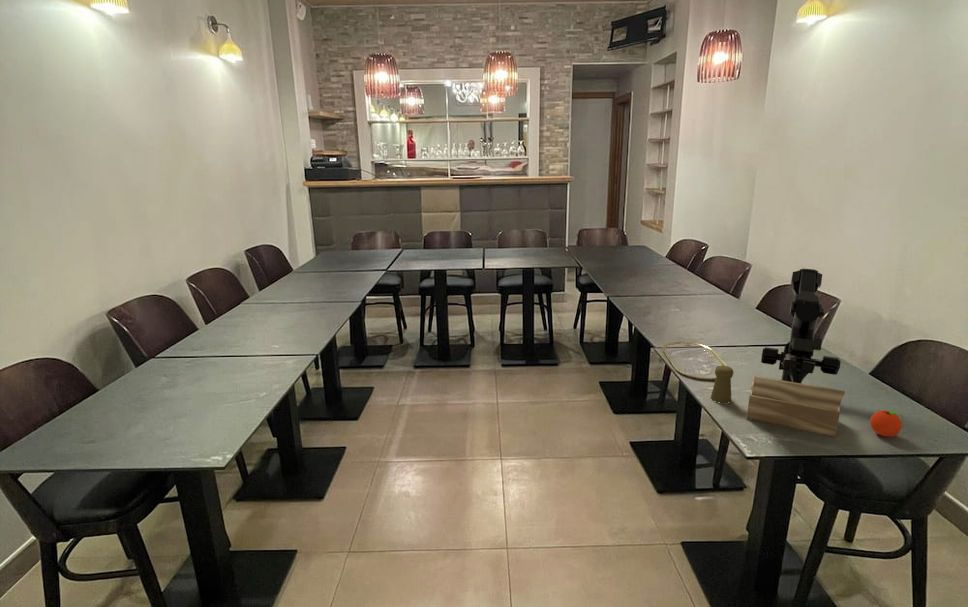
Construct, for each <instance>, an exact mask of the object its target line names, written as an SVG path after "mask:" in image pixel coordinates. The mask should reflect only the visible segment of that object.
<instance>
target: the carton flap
mask: <svg viewBox="0 0 968 607" xmlns="http://www.w3.org/2000/svg"><path fill="white" fill-rule="evenodd" d="M753 380H754V385H753V394H752V395H753V396H759V397H764V398H769V399H775V400H780V401H785V402H791V403H796V404H801V405H807V406H812V407H817V408H823V409H828V410H833V411H837V410H838V408H839V409H840V405H841V403H842V400H843V398H844V396H845V390H841V389H834V388H828V387H823V386H817V385H811V384H805V383H802V384H800V383H795V382H789V381H783V380H782V379H778V378H777V379H776V378H770V377H764V376H758V375H754V379H753Z"/></svg>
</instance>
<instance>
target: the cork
mask: <svg viewBox="0 0 968 607" xmlns="http://www.w3.org/2000/svg"><path fill="white" fill-rule="evenodd" d="M714 375H715V376H716V377H715V378H716V380H714V384H713V386H712V391H711V395H710V400H711V399H712V401H713V402H714V401H716V402H715V403H717V402H720V403H719V404H721V403H728V402H730V403H731V402H732V381H731V380H732V378H733V376H734V370H733V368H732V367H731V366H728V365H726V366H723V365H721V366H719V365H718V366H716V368H715V369H714ZM728 404H729V403H728Z"/></svg>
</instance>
